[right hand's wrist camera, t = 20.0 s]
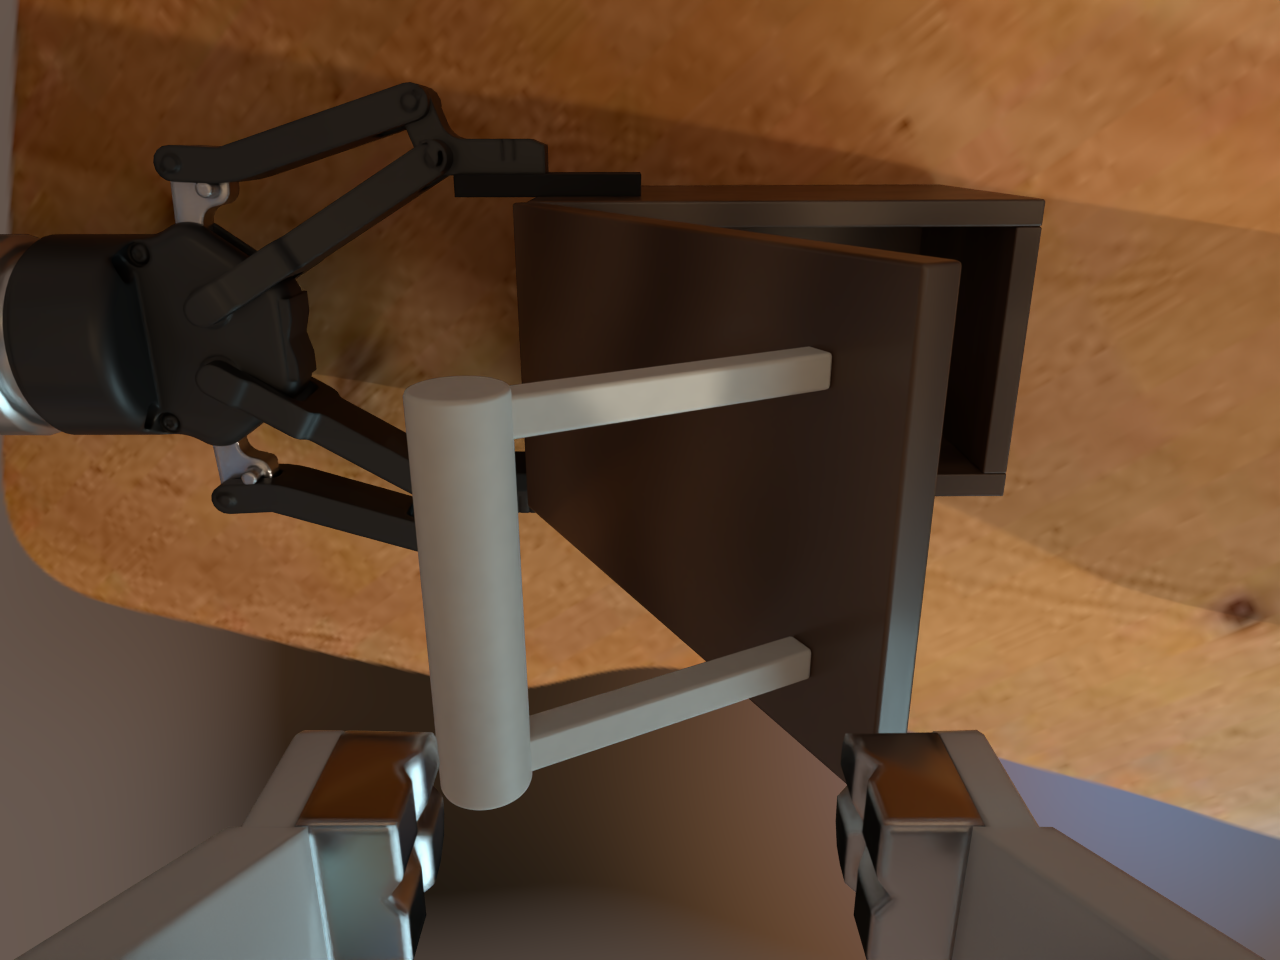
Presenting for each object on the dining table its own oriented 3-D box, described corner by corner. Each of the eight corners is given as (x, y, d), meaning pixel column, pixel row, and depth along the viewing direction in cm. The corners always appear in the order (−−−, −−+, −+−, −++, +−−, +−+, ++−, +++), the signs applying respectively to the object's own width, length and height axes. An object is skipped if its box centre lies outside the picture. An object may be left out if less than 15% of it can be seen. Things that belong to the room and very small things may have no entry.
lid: (964, 260, 14) (442, 305, 11) (901, 791, 18) (495, 965, 14) (537, 201, 29) (252, 212, 25) (549, 502, 33) (301, 550, 29)
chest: (940, 184, 40) (1046, 199, 29) (916, 412, 43) (1003, 496, 33) (553, 186, 39) (526, 201, 29) (561, 414, 43) (539, 499, 33)
